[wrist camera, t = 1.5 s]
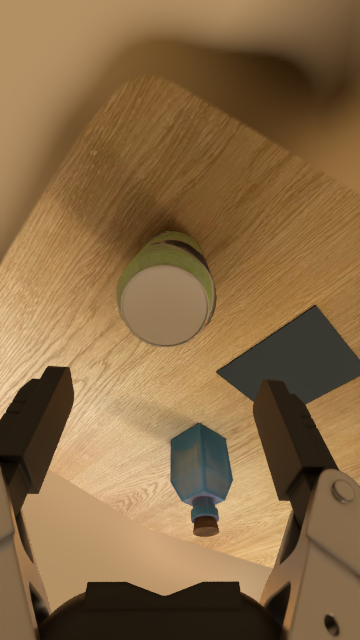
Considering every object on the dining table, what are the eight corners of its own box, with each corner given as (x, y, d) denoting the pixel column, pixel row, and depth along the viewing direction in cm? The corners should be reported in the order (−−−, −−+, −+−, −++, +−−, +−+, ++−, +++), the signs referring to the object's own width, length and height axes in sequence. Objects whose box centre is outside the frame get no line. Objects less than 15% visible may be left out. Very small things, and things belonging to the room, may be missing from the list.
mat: (216, 371, 33) (216, 372, 33) (315, 304, 28) (316, 305, 28) (276, 418, 39) (276, 419, 39) (367, 370, 34) (368, 371, 34)
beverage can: (156, 296, 27) (147, 384, 17) (121, 229, 23) (83, 292, 13) (214, 275, 26) (240, 356, 16) (187, 200, 22) (199, 245, 12)
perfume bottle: (197, 454, 44) (204, 544, 34) (170, 440, 42) (170, 533, 32) (225, 438, 42) (242, 530, 32) (199, 422, 39) (208, 517, 29)
